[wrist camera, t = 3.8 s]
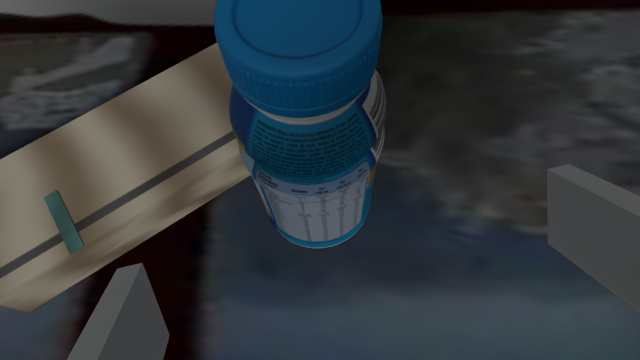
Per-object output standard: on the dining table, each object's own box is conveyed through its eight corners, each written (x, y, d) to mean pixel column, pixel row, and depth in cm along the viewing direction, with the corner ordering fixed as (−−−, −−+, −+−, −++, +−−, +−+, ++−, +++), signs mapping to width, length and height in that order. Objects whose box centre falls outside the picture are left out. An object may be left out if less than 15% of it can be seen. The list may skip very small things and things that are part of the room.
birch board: (279, 44, 42) (273, 10, 39) (342, 117, 39) (342, 88, 35) (-14, 207, 37) (-54, 186, 33) (29, 312, 33) (-11, 302, 29)
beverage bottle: (312, 275, 33) (280, 139, 15) (243, 196, 36) (146, 1, 18) (394, 203, 35) (453, 8, 17) (323, 134, 38) (308, -97, 20)
